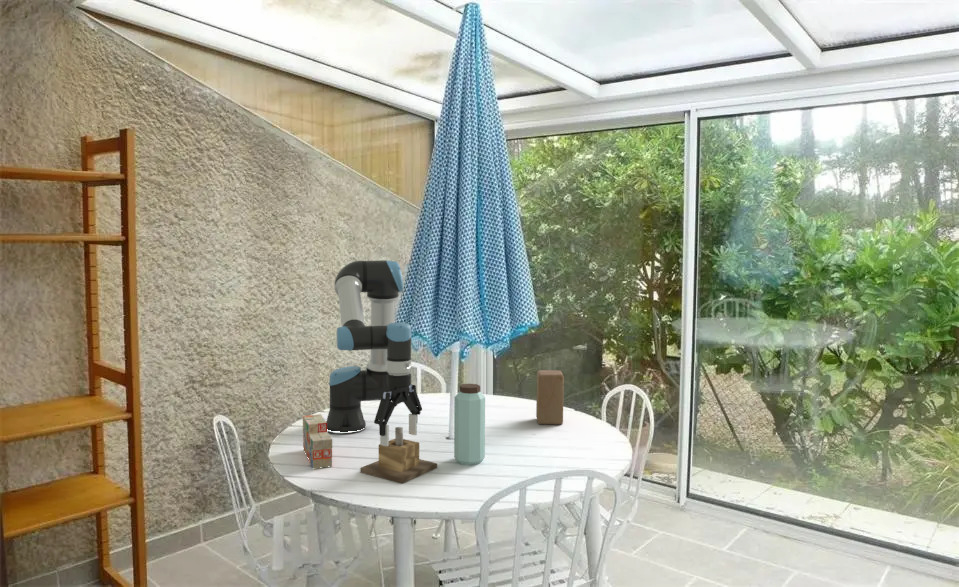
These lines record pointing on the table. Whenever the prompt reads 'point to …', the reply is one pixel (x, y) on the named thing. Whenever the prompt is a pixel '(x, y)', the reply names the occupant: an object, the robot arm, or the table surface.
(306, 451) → the stack of blocks
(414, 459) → the bead
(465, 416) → the water bottle
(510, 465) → the table surface
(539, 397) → the wooden block
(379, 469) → the board
